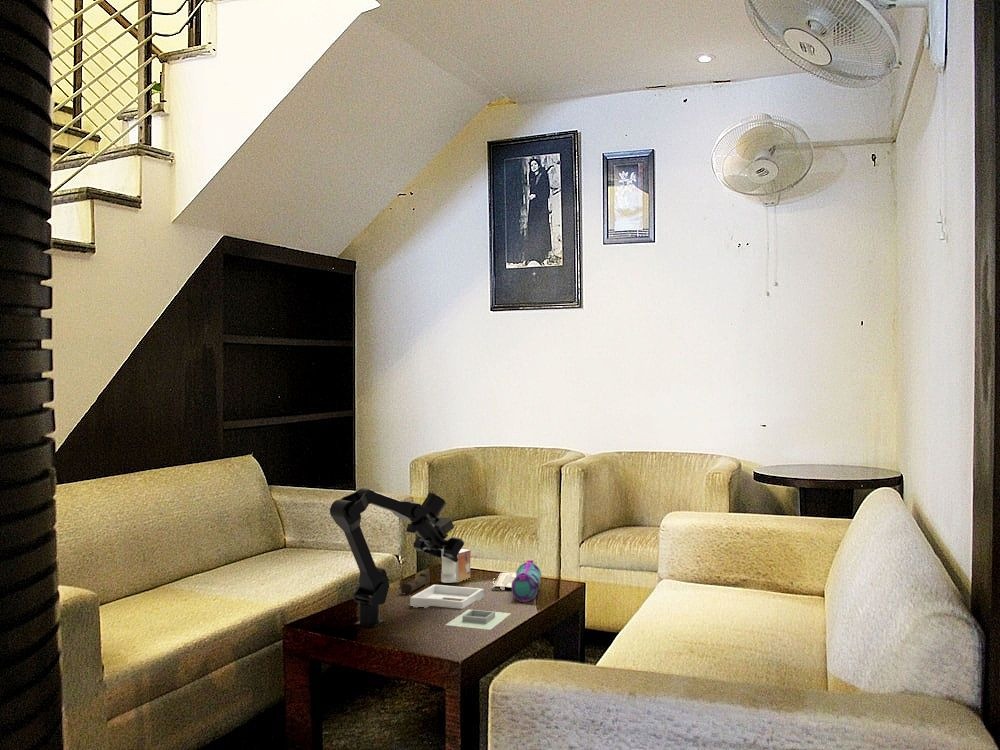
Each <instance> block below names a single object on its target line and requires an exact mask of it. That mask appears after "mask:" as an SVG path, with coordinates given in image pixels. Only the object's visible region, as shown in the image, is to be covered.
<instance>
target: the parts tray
mask: <svg viewBox="0 0 1000 750" xmlns="http://www.w3.org/2000/svg"><path fill="white" fill-rule="evenodd" d="M484 592H485V591H484V588H479V587H477V588H476V587H469V586H467V587H466V586H457V585H456V586H455V585H444V584H432V585H431V586H430V585H429V586H428V587H427V588H425V589H423V590H421V591H419V592H417V593H416V594H414V595H412V596H410V598H409V599H410V601H409V603H410V605H409V607H410V606H413V607H412V608H418V607H424V608H423V609H427V608H429V607H430V606H431V607H438V608H439V607H441V608H450V609H451V608H452V609H460V610H463V609H465V608H466V607H468V606H469V605H471V604H473V603H474V602H475V601H481V600H483V599H484V598H485V597H484V594H485V593H484ZM445 598H448V599H445ZM482 598H483V599H482ZM453 599H460V600H461V601H460V600H453Z"/></svg>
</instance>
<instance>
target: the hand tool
mask: <svg viewBox="0 0 1000 750" xmlns="http://www.w3.org/2000/svg"><path fill="white" fill-rule="evenodd" d="M430 574H431V573H430V571H429V570H423V572H420V573H419V576H417V577H416V578H413V579H411V580H410V581H408V582H405V583H402V584H401V586H400V592H401V594H402V593H405V594H404V595H411V594H412V593H413V592H414V591H415V590H418V589H419V588H421V587H424V586H423V585H427V584H428V583H429V584H430V581H431V575H430ZM429 584H428V585H429ZM428 585H427V586H428Z"/></svg>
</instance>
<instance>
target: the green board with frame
mask: <svg viewBox="0 0 1000 750" xmlns="http://www.w3.org/2000/svg"><path fill="white" fill-rule="evenodd" d="M511 614H512V613H510V612H500V611H492V610H491V611H490V610H479V609H466V611H463V612H462V614H460V615H458V616H456V617H455V618H453V619H452V620H450V621H448V623H446V624H445V626H450V627H459V628H470V629H480V630H486V631H487V630H488V631H491V630H492V629H494V628H495V627H496V626H498V624H500V623H501V622H502V621H503V620H505V619H507V618H508V617H509V616H510V615H511Z"/></svg>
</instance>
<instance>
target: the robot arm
mask: <svg viewBox="0 0 1000 750" xmlns="http://www.w3.org/2000/svg"><path fill="white" fill-rule="evenodd" d="M446 504H447V501H446V500H445V499H444V498H443V497H440V496H439V495H437V494H436V493H435V492H428V494H427V495H426V497H425V499H424V500H423V502H422V503H419V502H413V501H408V500H399V499H397V498H393V497H392V496H388V495H385V494H382V493H380V492H377V491H374V490H373V489H371V488H364V487H362V488H360V489H357V490H356V491H354V492H353V493H350V494H348V495H346V496H343V497H342V498H340V499H335V500H334V501H333V502H332V504H331V506H330V508H329V515H330V517H331V518H332V520H333V521H334V523H335V524H336V525H337V526H338V527H339V528H340V529H341V530H342V531H343V533H344V535H345V538H346V540H347V543H348V545H349V548H350V551H351V553H352V556H353V557H354V560H355V562H356V565H357V568H358V571H359V577H358V583H359V586H358V587H357V589H356V590H355V592H354V593H353V596H352V597H353V600H354V602H356V603H359V621H357V622H354V626H361V625H362V627H370V626H371V627H372V628H373V627H377V626H379V625H380V624H381V623H384V622H385V619H381V618H380V617H381V616H380V614H381V611H380V607H381V606H380V605H383V604H386V600H387V596H388V592H389V589H390V581H391V580H390V578H388V574H387V571H386V570H385V568H381V567H380V568H379V567H378V566H376V563H375V560H374V558H373V556H372V552H371V551H370V548H369V546H368V543H367V540H366V537H365V535H364V533H363V530H362V528H361V521H362V513H364V512H365V511H366V509H368V506H369V505H371V506H374V507H377V508H379V509H383V510H386V511H389V512H391V513H392V514H393V516H395V517H397V518H399V519H401V520H404V521H410V522H409V523H407V527H406V530H405V531H406V532H407V533H410V534H417V537H416V539H415V540H414V542H413V548H414V549H415V551H418V552H423V553H424V554H428V555H431V556H433V557H436V558H437V559H441V560H442V558H441V550H442V549H444V554H443V557H445V558H447V559H449V560H452V561H454V562H457V561H458V557H457V555H458V553H459V552H460V550H461V549H463V547H464V545H465V542H464V540H463V539H462V538H461V537H455V536H454V537H450V538H449V539H447V537H448V533H449V532H450V531H452V530H453V529H454V528H455V525H454V523H453V520H452V518H450V517H439V515H440V514H441V512H442V511H443V509H444V508H445V506H446ZM446 539H447V540H446ZM370 596H371V597H370ZM371 627H370V628H371Z"/></svg>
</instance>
